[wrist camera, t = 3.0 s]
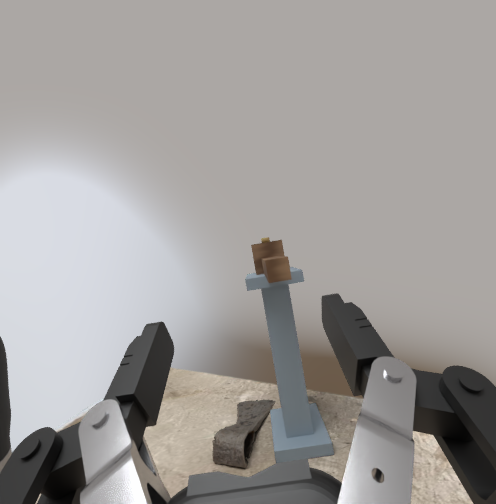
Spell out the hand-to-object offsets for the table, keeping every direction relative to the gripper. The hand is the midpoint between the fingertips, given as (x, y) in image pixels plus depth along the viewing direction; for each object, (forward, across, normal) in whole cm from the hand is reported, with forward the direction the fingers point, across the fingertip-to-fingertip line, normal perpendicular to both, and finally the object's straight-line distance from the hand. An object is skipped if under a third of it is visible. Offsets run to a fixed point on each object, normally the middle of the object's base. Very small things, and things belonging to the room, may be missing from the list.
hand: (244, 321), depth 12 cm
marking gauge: (+25, -4, +15) cm, 30 cm away
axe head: (+17, +7, +48) cm, 52 cm away
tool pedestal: (+14, -4, +46) cm, 48 cm away
